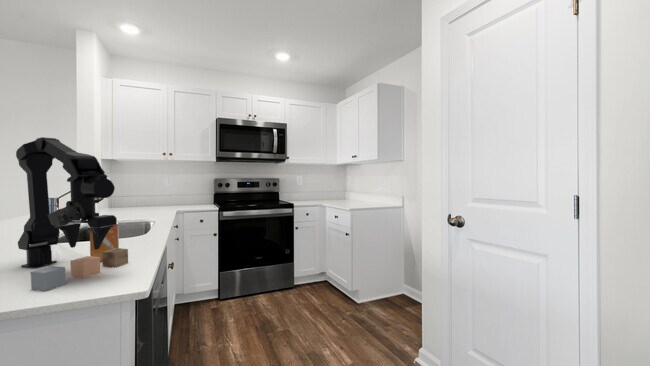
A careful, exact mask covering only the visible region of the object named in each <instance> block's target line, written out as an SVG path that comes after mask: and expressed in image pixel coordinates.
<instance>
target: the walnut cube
mask: <svg viewBox="0 0 650 366" xmlns="http://www.w3.org/2000/svg"><path fill="white" fill-rule="evenodd" d="M102 259H103V262H102V267H103V266H104V268H112V267H114V269H116V268H119V267H122V266H124V265H127V264H129V248H122V247H121V248H120V247H119V248H115V249H111V250H107V251H104V252H102ZM115 267H116V268H115Z"/></svg>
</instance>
